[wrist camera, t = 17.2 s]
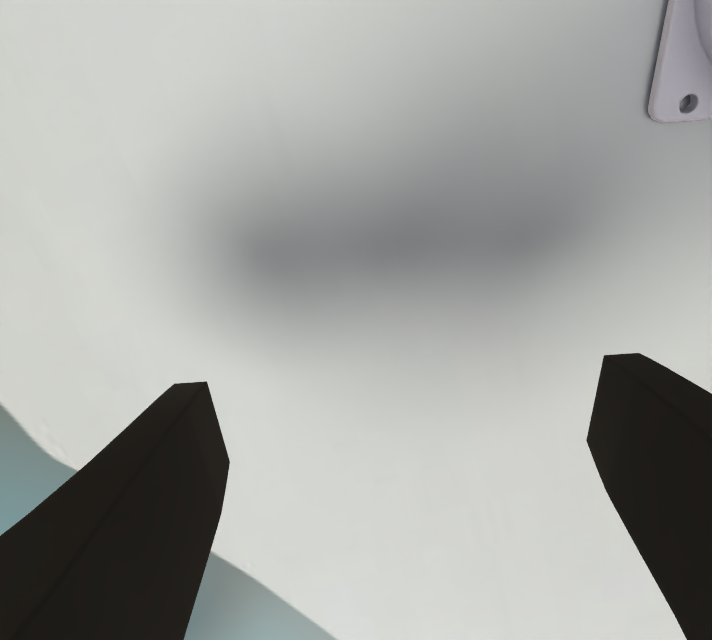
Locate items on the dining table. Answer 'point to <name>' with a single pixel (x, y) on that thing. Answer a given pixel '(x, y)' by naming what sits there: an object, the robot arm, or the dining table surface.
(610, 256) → the dining table surface
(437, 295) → the dining table surface
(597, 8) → the dining table surface
